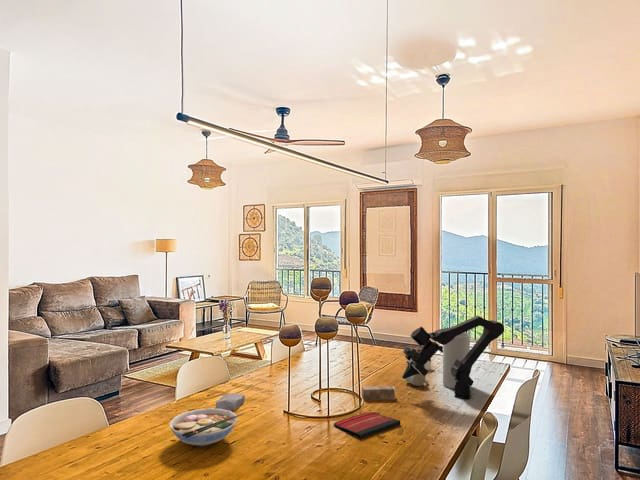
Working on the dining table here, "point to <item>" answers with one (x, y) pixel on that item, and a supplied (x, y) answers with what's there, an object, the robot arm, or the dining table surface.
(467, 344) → the cylinder vase
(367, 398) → the walnut block
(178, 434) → the ramen bowl
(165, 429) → the dining table surface
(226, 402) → the stone block
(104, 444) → the dining table surface
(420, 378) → the ceramic mug
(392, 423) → the binder
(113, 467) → the dining table surface
